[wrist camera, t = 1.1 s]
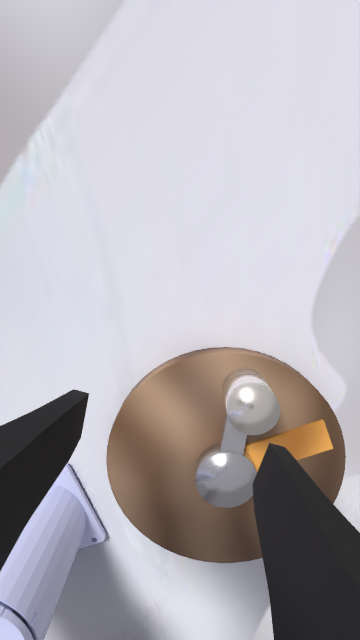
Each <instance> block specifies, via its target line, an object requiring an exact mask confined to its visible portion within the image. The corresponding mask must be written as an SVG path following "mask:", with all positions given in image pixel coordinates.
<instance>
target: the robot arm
mask: <svg viewBox="0 0 360 640" xmlns="http://www.w3.org/2000/svg"><path fill="white" fill-rule="evenodd" d="M88 396H89V393H85V392H81V391H78V390H72V391H70V392H68V393H66V394H64V395H62V396H60V397H59V398H57V399H55V400H53V401H51V402H49V403H47V404H46V405H44V406H42V407H40V408H38V409H36V410H34V411H32V412H30V413H28V414H26V415H24V416H21V417H19V418H17V419H15V420H13V421H11V422H8V423H6V424H4V425H2V426H0V640H44V638H45V635H46V633H47V630H48V627H49V625H50V622H51V619H52V617H53V614H54V611H55V609H56V606H57V604H58V601H59V598H60V596H61V593H62V590H63V588H64V585H65V583H66V580H67V577H68V575H69V572H70V569H71V567H72V564H73V561H74V559H75V556H76V554H77V551H78V550H79V549H82V548H85V547H88V546H92V545H95V544H98V543H101V542H103V541H104V540H105V538H106V533H105V531H104V529H103V527H102V525H101V523H100V521H99V520H98V518H97V516H96V514H95V512H94V510H93V508H92V507H91V505H90V503H89V501H88V499H87V497H86V495H85V494H84V492H83V490H82V488H81V486H80V484H79V482H78V480H77V479H76V477H75V475H74V473H73V471H72V469H71V467H70V466H69V465H68V464H67V463H68V461H69V459H70V457H71V455H72V454H73V452H74V450H75V448H76V446H77V444H78V442H79V440H80V438H81V434H82V429H83V423H84V418H85V412H86V407H87V401H88ZM253 502H254V513H255V519H256V524H257V530H258V535H259V541H260V546H261V551H262V556H263V562H264V567H265V572H266V577H267V583H268V589H269V596H270V604H271V614H272V624H273V633H274V640H360V533H359V532H358V531H357V530H356V529H355V527H354V526H353V525H351V523H350V522H349V521H348V520H347V519H346V518H345V517H344V516H343V515H342V514H341V512H340V511H339V510H338V509H337V508H336V507H335V506H334V505H333V504H332V502H331V501H330V500H329V499H328V498H327V497H326V496H325V494H324V493H323V492H322V491H321V490H320V488H319V487H318V486H317V485H316V484H315V482H314V481H313V480H312V479H311V478H310V476H309V475H308V474H307V473H306V471H305V470H304V469H303V468H302V466H301V465H300V464H299V463H298V462H297V460H296V459H295V458H294V457H293V456H292V454H291V453H290V452H289V451H288V450H287V449H286V448H285V447H283V446H280V445H276V444H272V443H269V445H268V447H267V450H266V452H265V455H264V457H263V460H262V462H261V464H260V467H259V469H258V472H257V474H256V477H255V479H254V481H253ZM94 537H95V538H94Z"/></svg>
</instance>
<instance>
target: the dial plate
mask: <svg viewBox="0 0 360 640" xmlns="http://www.w3.org/2000/svg"><path fill="white" fill-rule="evenodd" d="M239 368H251V369H254V370H256V371H258V372H259V373H260V374H261V375H262V376H263V377H264V379H265V380H266V382H267V384H268V385H269V387H270V388H271V390H272V392H273V393H274V395H275V396H276V398H277V400H278V402H279V404H280V417H279V419H278V422H277V423H276V425H275V426H274V427H273V428H272V429H270V430H269V431H267V432H266V433H263V434H260V435H247V438H246V443H245V448H244V450H245V451H246V452H247V453H248V454H249V455H250V456H251V458H252V460H253V463H254V466H255V469H256V473H257V472H258V469H259V467H260V464H261V462H262V460H263V457H264V455H265V452H266V450H267V447H268V445H269V443H272V444H276V445H280V446H283V447H285V448H286V449H287V450H288V451H289V452H290V453H291V454H292V456H293V457H294V458H295V459H296V460H297V462H298V463H299V464H300V465H301V466H302V468H303V469H304V470H305V471H306V473H307V474H308V475H309V476H310V478H311V479H312V480H313V481H314V482H315V484H316V485H317V486H318V487H319V488H320V490H321V491H322V492H323V493H324V494H325V496H326V497H327V498H328V499H329V500H330V501H331V502H332V504H333V503H334V501H335V499H336V497H337V495H338V492H339V490H340V487H341V484H342V480H343V475H344V471H345V457H346V456H345V445H344V439H343V435H342V431H341V428H340V425H339V423H338V420H337V418H336V416H335V414H334V412H333V411H332V409H331V407H330V406H329V404H328V402H327V401H326V400H325V399H324V397H323V396H322V395H321V394H320V393H319V391H318V390H317V389H316V388H315V387H314V386H313V385H312V384H311V383H310V382H309V381H308V380H307V379H306V378H305V377H303V376H302V375H301V374H300V373H299V372H298V371H296V370H295V369H293V368H292V367H290V366H289V365H287V364H286V363H284V362H282V361H280V360H278V359H276V358H274V357H272V356H269V355H266V354H263V353H260V352H257V351H252V350H247V349H242V348H230V347H222V348H208V349H202V350H196V351H193V352H189V353H186V354H183V355H180V356H178V357H175V358H173V359H171V360H169V361H167V362H165V363H163V364H162V365H160V366H158V367H157V368H155V369H154V370H152V371H151V372H150V373H149V374H147V375H146V376H145V377H144V378H143V379H142V380H141V381H140V382H139V383H138V384H137V385H136V386H135V387H134V388H133V389H132V391H131V392H130V394H129V395H128V396H127V398H126V399H125V401H124V403H123V405H122V407H121V409H120V411H119V413H118V415H117V417H116V419H115V421H114V424H113V427H112V430H111V433H110V436H109V441H108V447H107V471H108V478H109V482H110V485H111V489H112V492H113V494H114V496H115V499H116V501H117V503H118V505H119V506H120V508H121V509H122V511H123V513H124V514H125V515H126V517H127V518H128V519H129V520H130V522H131V523H132V524H133V525H134V526H135V527H136V528H137V529H138V530H139V531H140V532H141V533H142V534H144V535H145V536H146V537H147V538H149V539H150V540H151V541H153V542H154V543H156V544H158V545H160V546H161V547H163V548H165V549H167V550H169V551H171V552H174V553H176V554H178V555H181V556H184V557H188V558H191V559H195V560H200V561H205V562H216V563H235V562H243V561H250V560H255V559H259V558H263V556H262V551H261V546H260V541H259V535H258V530H257V524H256V519H255V513H254V502H253V496H252V497H251V498H250V499H249V500H248V501H247V502H245V503H243V504H242V505H239V506H236V507H231V508H222V507H217V506H214V505H212V504H210V503H208V502H207V501H205V500H204V499H203V498H202V497H201V495H200V494H199V492H198V490H197V487H196V474H195V467H196V462H197V460H198V458H199V456H200V455H201V454H202V453H203V452H204V451H205V450H206V449H207V448H209V447H211V446H214V445H217V444H219V443H220V438H221V433H222V428H223V422H224V417H225V412H226V407H225V403H224V398H223V394H222V384H223V381H224V379H225V378H226V376H227V375H228V374H229V373H231V372H232V371H234V370H236V369H239Z"/></svg>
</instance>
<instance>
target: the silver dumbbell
mask: <svg viewBox="0 0 360 640" xmlns="http://www.w3.org/2000/svg"><path fill="white" fill-rule="evenodd" d="M222 394H223V398H224V403H225V407H226V412H225V417H224V422H223V428H222V433H221V438H220V443H219V444H217V445H214V446H211V447H209V448H207V449H206V450H205V451H204V452H203V453H202V454H201V455H200V456H199V458H198V460H197V462H196V467H195V474H196V487H197V490H198V492H199V494H200V495H201V497H202V498H203V499H204V500H205V501H207V502H208V503H210V504H212V505H214V506H217V507H222V508H231V507H236V506H239V505H242V504H243V503H245V502H247V501H248V500H249V499H250V498H251V497H252V496H253V481H254V479H255V477H256V474H257V473H256V469H255V466H254V463H253V460H252V458H251V456H250V455H249V454H248V453H247V452H246V451H245V450H244V448H245V443H246V438H247V435H260V434H263V433H266V432H267V431H269V430H270V429H272V428H273V427H274V426H275V425H276V423H277V422H278V419H279V417H280V404H279V402H278V400H277V398H276V396H275V395H274V393H273V392H272V390H271V388H270V387H269V385H268V384H267V382H266V380H265V379H264V377H263V376H262V375H261V374H260V373H259V372H258V371H256V370H254V369H251V368H239V369H236V370H234V371H232V372H231V373H229V374H228V375H227V376H226V378H225V379H224V381H223V384H222Z"/></svg>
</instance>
